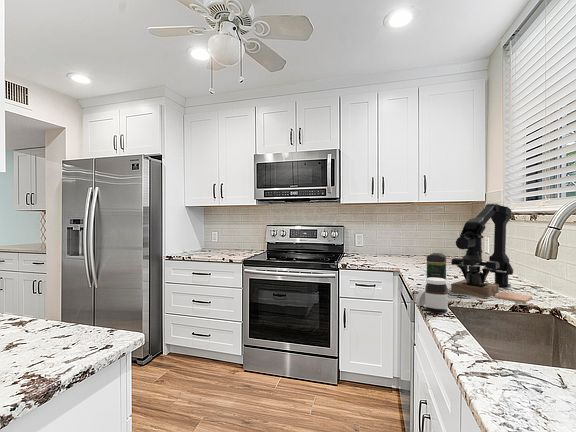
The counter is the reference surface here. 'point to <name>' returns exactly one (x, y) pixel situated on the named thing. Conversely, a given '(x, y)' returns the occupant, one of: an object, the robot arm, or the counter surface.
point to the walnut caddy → (475, 289)
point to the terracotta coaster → (513, 297)
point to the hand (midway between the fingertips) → (474, 281)
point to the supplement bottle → (474, 276)
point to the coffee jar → (436, 266)
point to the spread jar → (434, 295)
